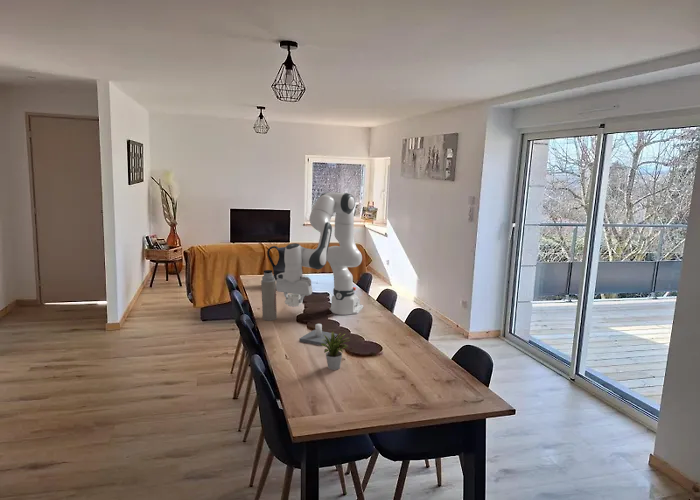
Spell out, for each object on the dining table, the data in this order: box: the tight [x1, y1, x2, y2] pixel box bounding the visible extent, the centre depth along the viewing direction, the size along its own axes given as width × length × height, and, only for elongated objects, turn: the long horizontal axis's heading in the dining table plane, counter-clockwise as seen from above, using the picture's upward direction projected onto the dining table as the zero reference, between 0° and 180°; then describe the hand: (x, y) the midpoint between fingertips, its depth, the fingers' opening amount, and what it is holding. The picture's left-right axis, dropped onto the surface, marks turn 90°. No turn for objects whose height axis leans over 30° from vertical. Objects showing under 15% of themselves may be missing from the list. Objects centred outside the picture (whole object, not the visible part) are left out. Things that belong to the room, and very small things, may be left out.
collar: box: [284, 293, 302, 308], centre depth 248 cm, size 10×6×5 cm, turn 153°
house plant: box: [320, 330, 349, 371], centre depth 208 cm, size 14×14×16 cm
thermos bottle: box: [260, 269, 278, 321], centre depth 275 cm, size 8×8×28 cm
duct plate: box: [298, 323, 339, 347], centre depth 244 cm, size 14×14×8 cm
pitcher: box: [266, 245, 286, 280], centre depth 343 cm, size 17×21×30 cm
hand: (294, 301), depth 250 cm, fingers closed on collar, 6 cm apart
